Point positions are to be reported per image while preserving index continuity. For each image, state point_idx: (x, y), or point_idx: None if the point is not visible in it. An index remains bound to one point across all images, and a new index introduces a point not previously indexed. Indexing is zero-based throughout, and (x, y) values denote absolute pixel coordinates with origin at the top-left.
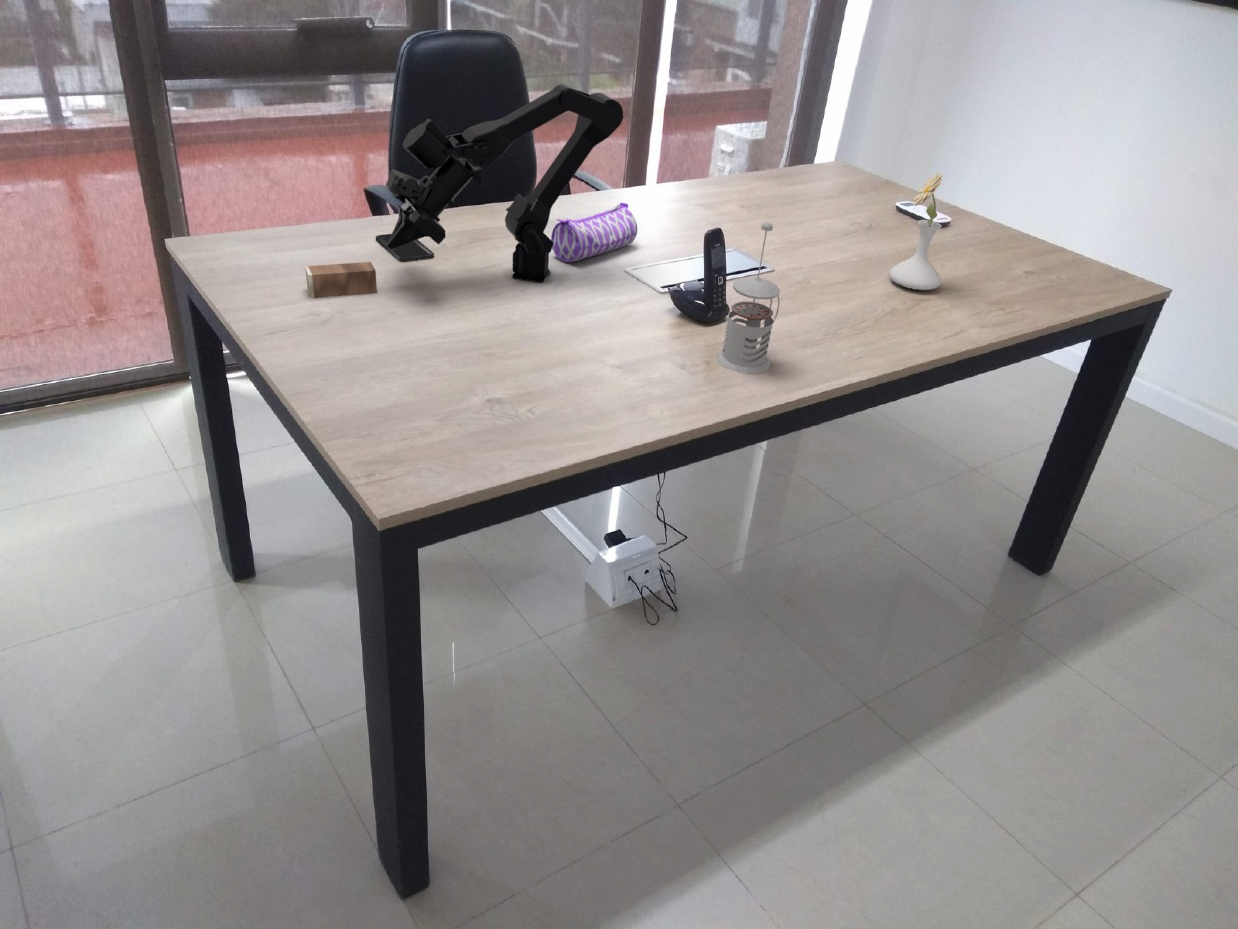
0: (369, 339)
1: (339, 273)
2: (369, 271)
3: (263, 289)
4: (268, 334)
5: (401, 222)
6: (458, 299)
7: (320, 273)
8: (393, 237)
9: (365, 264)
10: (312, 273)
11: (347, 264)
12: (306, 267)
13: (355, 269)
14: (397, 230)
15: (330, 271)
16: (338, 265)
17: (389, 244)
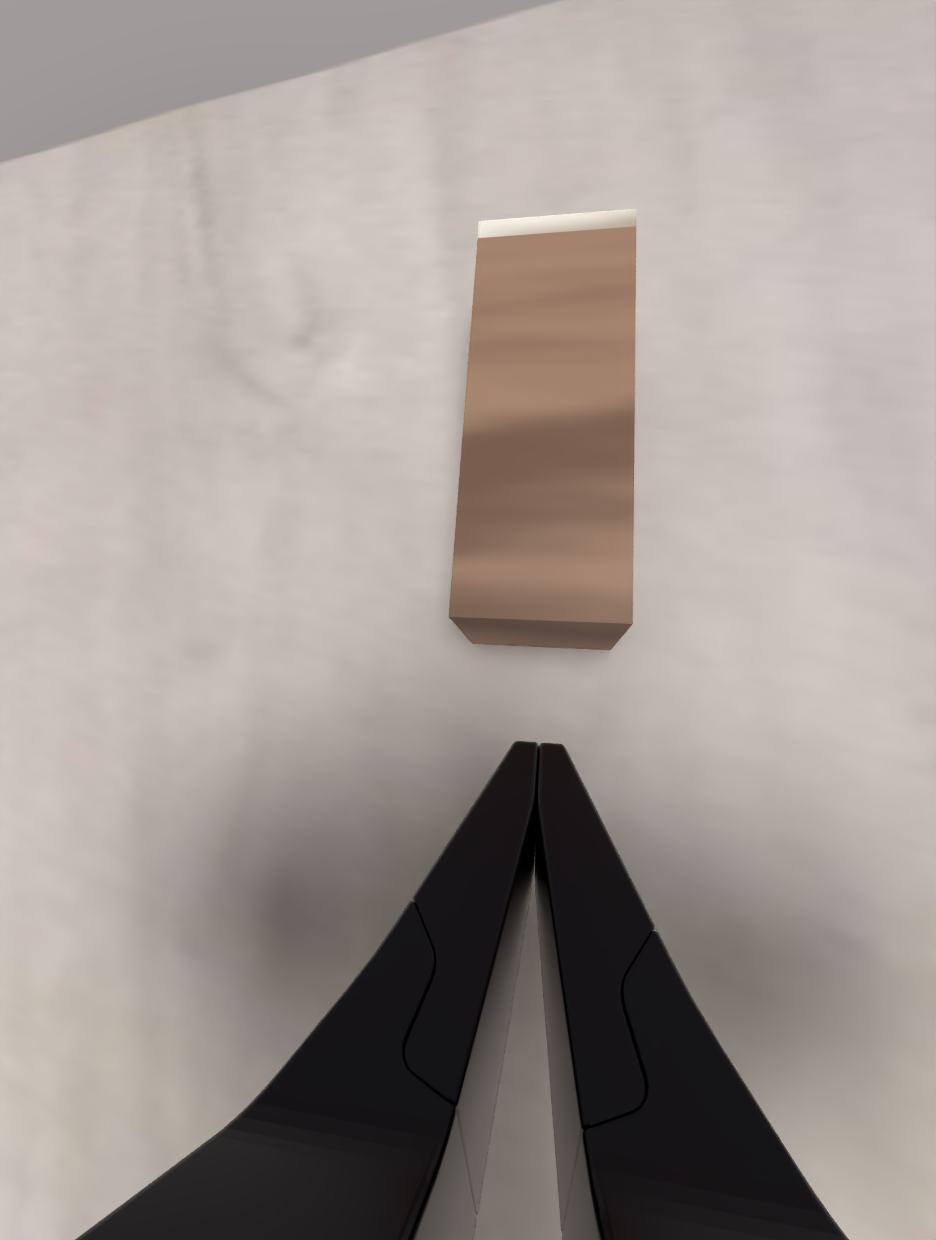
0: (11, 497)
1: (468, 387)
2: (454, 575)
3: (652, 152)
4: (199, 173)
5: (576, 1145)
6: (239, 1090)
7: (486, 281)
8: (466, 824)
9: (581, 572)
10: (499, 241)
11: (612, 454)
12: (609, 215)
13: (503, 489)
14: (461, 930)
15: (505, 337)
16: (605, 396)
17: (501, 761)
